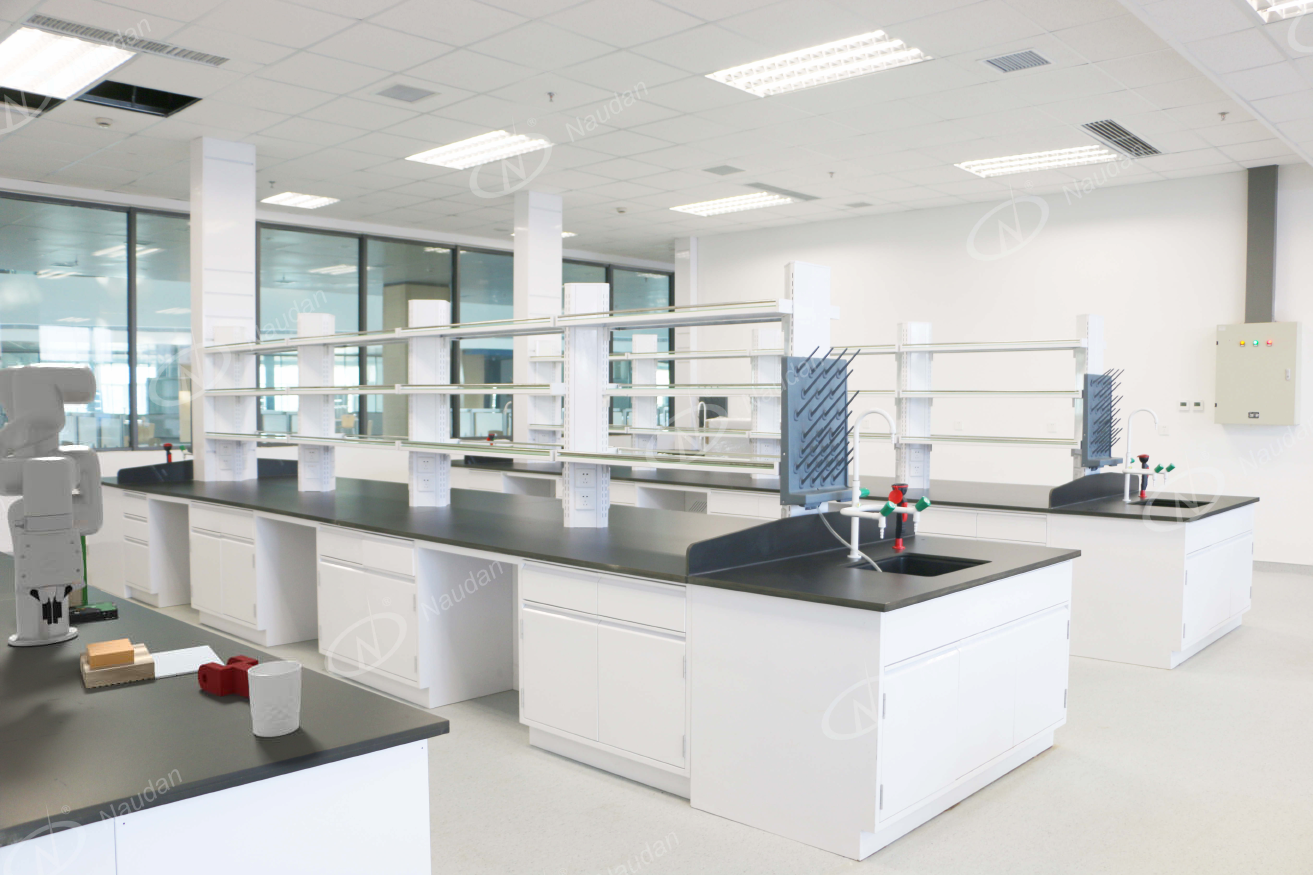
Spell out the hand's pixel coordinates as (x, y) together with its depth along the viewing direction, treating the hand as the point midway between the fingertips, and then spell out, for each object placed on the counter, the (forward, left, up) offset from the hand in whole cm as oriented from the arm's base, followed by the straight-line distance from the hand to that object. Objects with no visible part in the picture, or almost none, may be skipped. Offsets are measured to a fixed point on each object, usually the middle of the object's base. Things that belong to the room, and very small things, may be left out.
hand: (52, 622), depth 166 cm
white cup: (+49, +27, -12) cm, 58 cm away
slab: (-1, +9, -8) cm, 12 cm away
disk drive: (-56, +7, -12) cm, 58 cm away
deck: (-1, +10, -11) cm, 15 cm away
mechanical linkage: (+25, +27, -12) cm, 39 cm away
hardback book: (-74, +5, -12) cm, 75 cm away
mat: (-1, +21, -11) cm, 24 cm away
